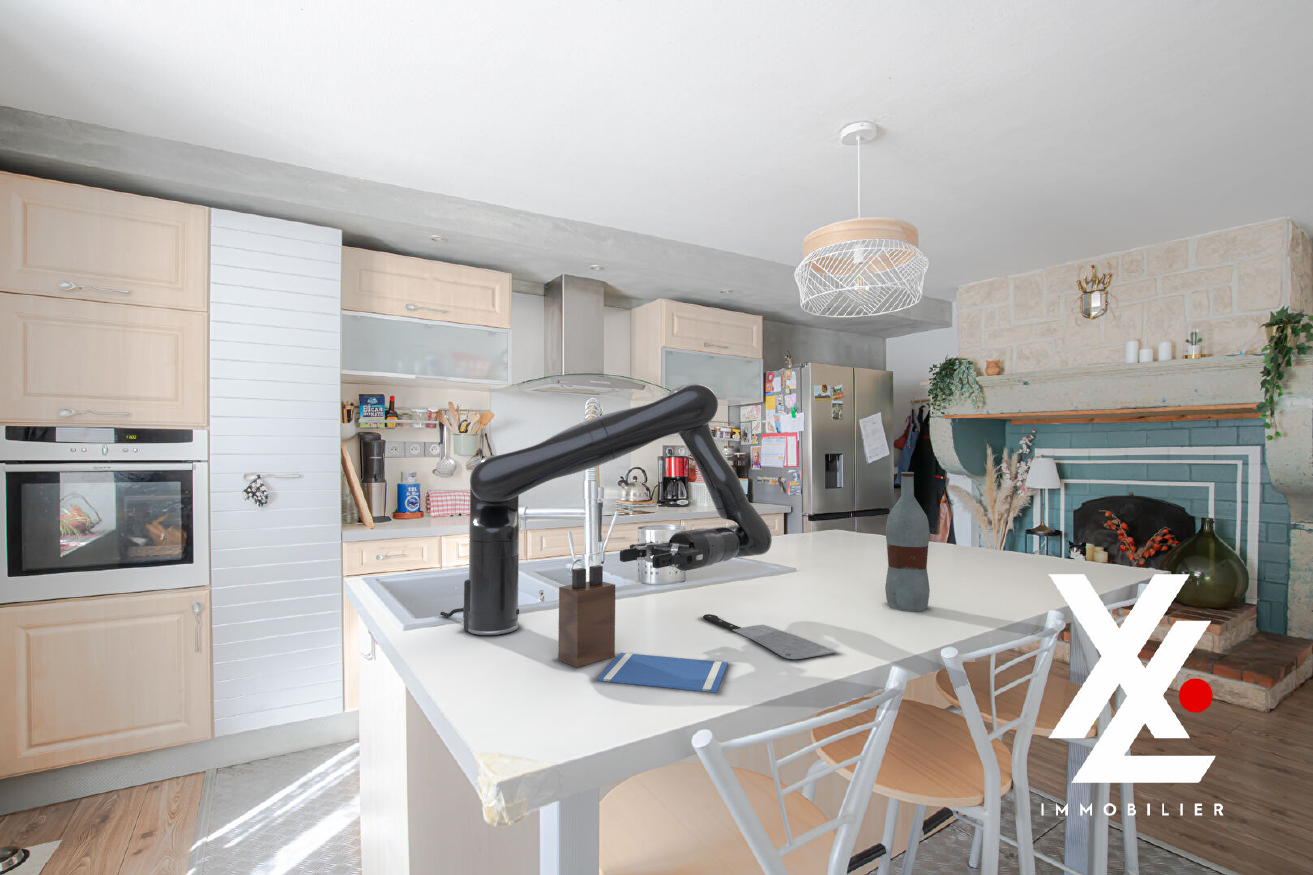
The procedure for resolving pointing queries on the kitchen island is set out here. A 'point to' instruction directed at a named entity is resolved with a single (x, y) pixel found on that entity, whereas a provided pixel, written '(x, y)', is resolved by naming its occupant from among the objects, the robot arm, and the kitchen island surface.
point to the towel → (665, 672)
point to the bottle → (907, 551)
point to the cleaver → (776, 640)
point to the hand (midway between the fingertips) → (637, 559)
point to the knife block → (586, 618)
